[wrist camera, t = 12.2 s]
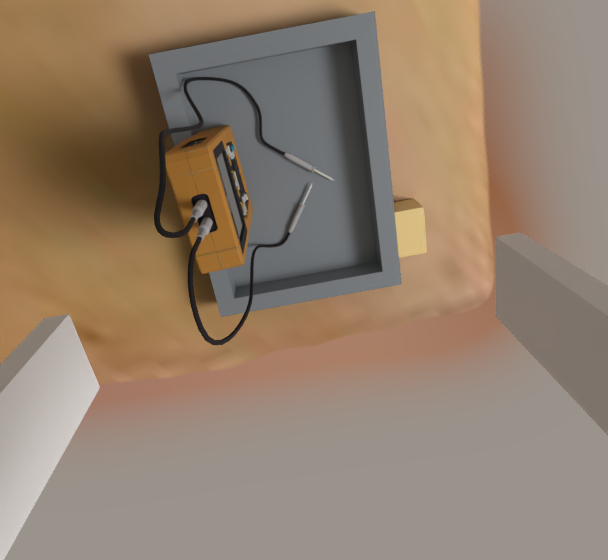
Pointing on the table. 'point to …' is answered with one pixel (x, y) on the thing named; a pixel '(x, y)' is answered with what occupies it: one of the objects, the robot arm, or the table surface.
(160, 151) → the multimeter
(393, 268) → the tray
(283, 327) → the table surface
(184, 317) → the table surface
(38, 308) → the table surface
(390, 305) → the table surface
